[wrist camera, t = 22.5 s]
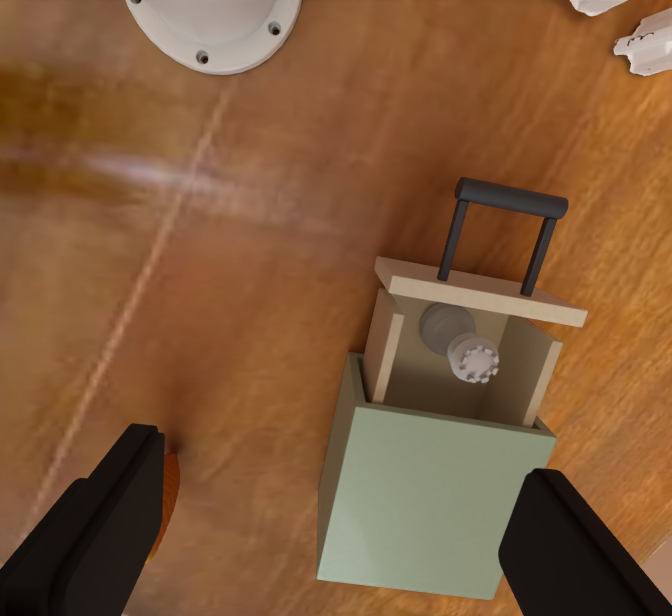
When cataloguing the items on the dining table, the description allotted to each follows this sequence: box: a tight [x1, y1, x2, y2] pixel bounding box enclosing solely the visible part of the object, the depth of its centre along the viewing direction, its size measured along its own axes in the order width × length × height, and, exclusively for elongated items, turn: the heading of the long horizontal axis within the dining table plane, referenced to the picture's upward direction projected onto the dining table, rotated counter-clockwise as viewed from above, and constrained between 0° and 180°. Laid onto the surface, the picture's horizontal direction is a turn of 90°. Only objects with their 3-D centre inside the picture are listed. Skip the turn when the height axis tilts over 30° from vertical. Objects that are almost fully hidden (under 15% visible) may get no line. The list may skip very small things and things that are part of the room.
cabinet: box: [316, 351, 557, 600], centre depth 34 cm, size 16×15×10 cm
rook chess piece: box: [420, 303, 499, 383], centre depth 29 cm, size 4×4×8 cm
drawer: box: [360, 177, 588, 428], centre depth 30 cm, size 21×13×8 cm, turn 169°
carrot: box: [145, 453, 180, 564], centre depth 31 cm, size 5×5×15 cm
